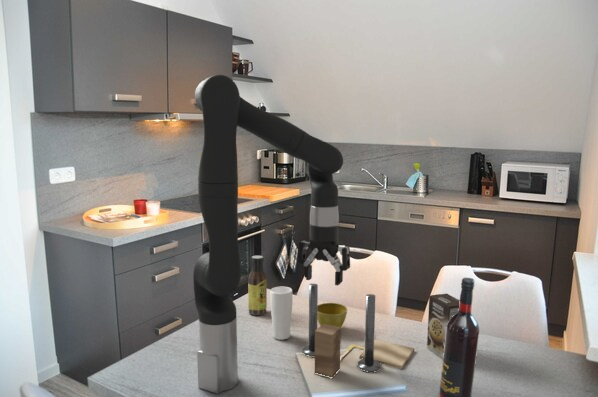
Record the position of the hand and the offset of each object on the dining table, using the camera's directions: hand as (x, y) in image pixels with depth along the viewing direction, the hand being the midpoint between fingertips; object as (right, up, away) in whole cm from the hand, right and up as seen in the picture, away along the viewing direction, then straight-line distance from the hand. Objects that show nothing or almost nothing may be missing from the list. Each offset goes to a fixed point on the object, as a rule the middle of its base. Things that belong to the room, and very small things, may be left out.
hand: (323, 282), depth 127 cm
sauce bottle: (-21, -17, +38) cm, 46 cm away
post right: (+12, -23, +1) cm, 26 cm away
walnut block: (+1, -24, -2) cm, 24 cm away
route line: (+8, -22, +7) cm, 25 cm away
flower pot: (+4, -20, +24) cm, 31 cm away
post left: (-2, -22, +9) cm, 24 cm away
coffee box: (+35, -22, +9) cm, 42 cm away
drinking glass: (-12, -20, +19) cm, 30 cm away
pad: (+19, -22, +8) cm, 30 cm away
